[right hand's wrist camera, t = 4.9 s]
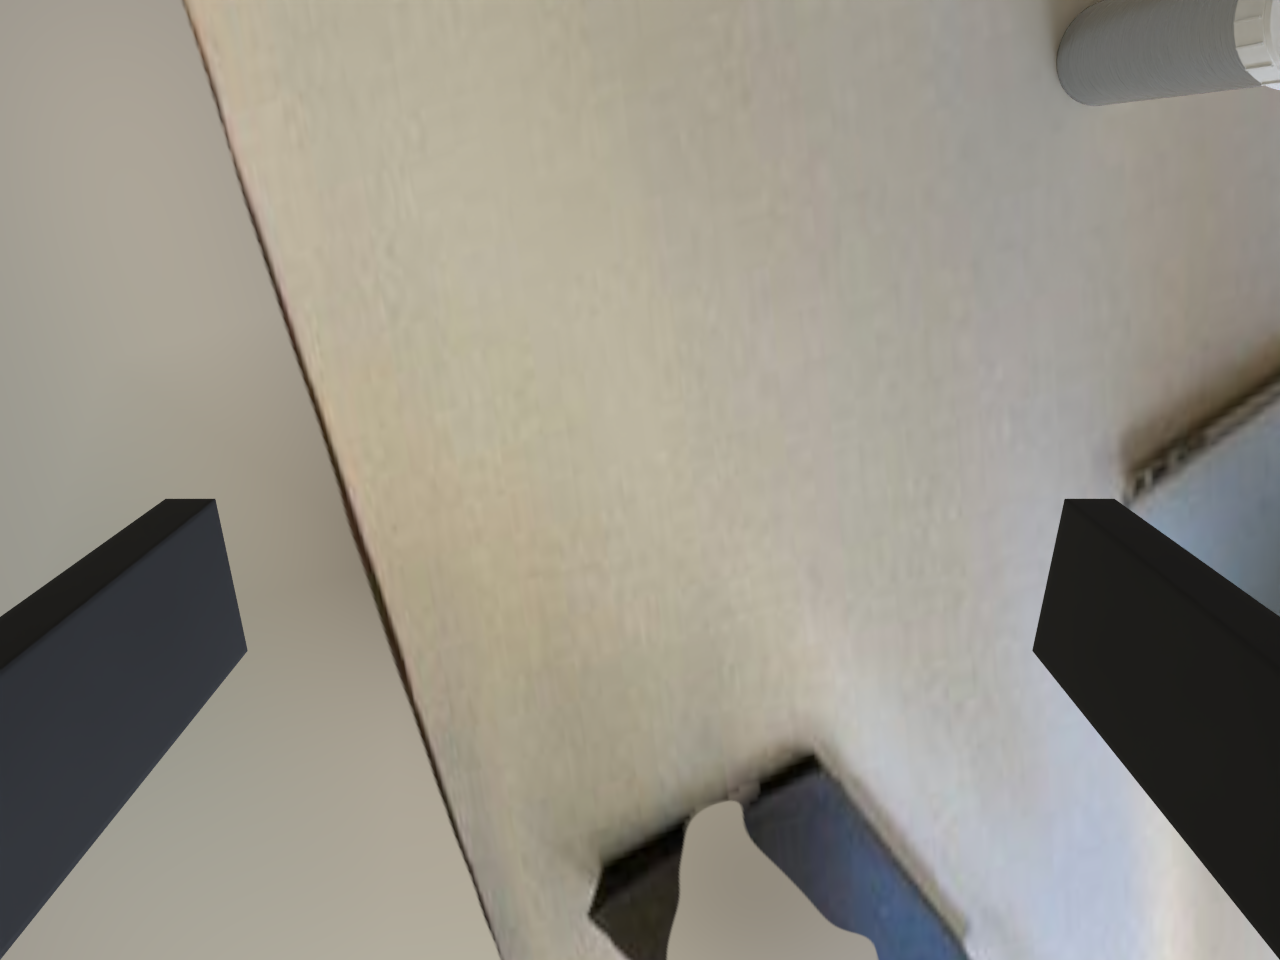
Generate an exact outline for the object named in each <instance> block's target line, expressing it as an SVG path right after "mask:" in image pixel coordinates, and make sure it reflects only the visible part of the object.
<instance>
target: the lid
mask: <svg viewBox="0 0 1280 960" xmlns="http://www.w3.org/2000/svg"><path fill="white" fill-rule="evenodd" d="M1234 38H1235V45H1236V50H1237V52H1238V55H1239V58H1240V60H1241V62H1242V64H1243V65H1244V67H1245V68H1246V69H1245V71H1248V72H1249V73H1250V74H1251V75H1252V76H1253V78H1255V79H1256V80H1257V81H1259V82H1260V83H1262V84H1261V85H1262V86H1268V87H1270V88H1273V89H1277V90H1280V0H1238V3H1237V7H1236V12H1235V20H1234Z"/></svg>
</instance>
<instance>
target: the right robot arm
mask: <svg viewBox="0 0 1280 960" xmlns="http://www.w3.org/2000/svg"><path fill="white" fill-rule="evenodd" d="M246 652H247V646H246V641H245V637H244V632H243V627H242V623H241V618H240V613H239V608H238V604H237V599H236V594H235V590H234V585H233V580H232V576H231V571H230V566H229V562H228V557H227V552H226V547H225V543H224V538H223V533H222V529H221V524H220V519H219V514H218V510H217V505H216V500H215V499H165V500H164V501H162V502H161V503H159V504H158V505H156V506H155V507H154V508H152V509H151V510H149V511H148V512H147V513H145V514H144V515H143V516H141V517H140V518H138V519H137V520H135V521H134V522H133V523H131V524H130V525H128V526H127V527H126V528H124V529H123V530H121V531H120V532H119V533H117V534H116V535H114V536H113V537H112V538H110V539H109V540H107V541H106V542H105V543H103V544H102V545H100V546H99V547H98V548H96V549H95V550H93V551H92V552H91V553H89V554H88V555H86V556H85V557H84V558H82V559H81V560H79V561H78V562H77V563H75V564H74V565H72V566H71V567H70V568H68V569H67V570H65V571H64V572H63V573H61V574H60V575H58V576H57V577H56V578H54V579H53V580H51V581H50V582H49V583H47V584H46V585H44V586H43V587H42V588H40V589H39V590H37V591H36V592H35V593H33V594H32V595H30V596H29V597H28V598H26V599H25V600H23V601H22V602H21V603H19V604H18V605H16V606H15V607H14V608H12V609H11V610H9V611H8V612H7V613H5V614H4V615H2V616H1V617H0V959H1V958H2V957H3V956H4V954H5V953H6V952H7V951H8V949H9V948H10V947H11V946H12V944H13V943H14V942H15V940H16V939H17V938H18V937H19V936H20V934H21V933H22V932H23V931H24V929H25V928H26V927H27V926H28V924H29V923H30V922H31V921H32V919H33V918H34V917H35V916H36V914H37V913H38V912H39V911H40V909H41V908H42V907H43V906H44V904H45V903H46V902H47V901H48V899H49V898H50V897H51V896H52V894H53V893H54V892H55V891H56V889H57V888H58V887H59V886H60V884H61V883H62V882H63V881H64V879H65V878H66V877H67V876H68V874H69V873H70V872H71V871H72V869H73V868H74V867H75V866H76V864H77V863H78V862H79V860H80V859H81V858H82V857H83V856H84V854H85V853H86V852H87V851H88V849H89V848H90V847H91V846H92V844H93V843H94V842H95V841H96V839H97V838H98V837H99V836H100V834H101V833H102V832H103V831H104V829H105V828H106V827H107V826H108V824H109V823H110V822H111V821H112V819H113V818H114V817H115V816H116V814H117V813H118V812H119V811H120V809H121V808H122V807H123V806H124V804H125V803H126V802H127V801H128V799H129V798H130V797H131V796H132V794H133V793H134V792H135V791H136V789H137V788H138V787H139V786H140V784H141V783H142V782H143V781H144V779H145V778H146V777H147V776H148V774H149V773H150V772H151V771H152V769H153V768H154V767H155V766H156V764H157V763H158V762H159V761H160V759H161V758H162V757H163V756H164V754H165V753H166V752H167V751H168V749H169V748H170V747H171V746H172V744H173V743H174V742H175V741H176V739H177V738H178V737H179V736H180V734H181V733H182V732H183V731H184V729H185V728H186V727H187V726H188V724H189V723H190V722H191V721H192V719H193V718H194V717H195V716H196V714H197V713H198V712H199V711H200V709H201V708H202V707H203V706H204V704H205V703H206V702H207V701H208V699H209V698H210V697H211V696H212V694H213V693H214V692H215V691H216V689H217V688H218V687H219V686H220V684H221V683H222V682H223V681H224V679H225V678H226V677H227V676H228V674H229V673H230V672H231V671H232V669H233V668H234V667H235V666H236V664H237V663H238V662H239V661H240V659H241V658H242V657H243V656H244V654H245V653H246ZM1033 652H1034V653H1035V654H1036V656H1037V657H1038V658H1039V659H1040V661H1041V662H1042V663H1043V664H1044V666H1045V667H1046V668H1047V669H1048V671H1049V672H1050V673H1051V674H1052V676H1053V677H1054V678H1055V679H1056V681H1057V682H1058V683H1059V684H1060V686H1061V687H1062V688H1063V689H1064V691H1065V692H1066V693H1067V694H1068V696H1069V697H1070V698H1071V699H1072V701H1073V702H1074V703H1075V704H1076V706H1077V707H1078V708H1079V709H1080V711H1081V712H1082V713H1083V714H1084V716H1085V717H1086V718H1087V719H1088V721H1089V722H1090V723H1091V724H1092V726H1093V727H1094V728H1095V729H1096V731H1097V732H1098V733H1099V734H1100V736H1101V737H1102V738H1103V739H1104V741H1105V742H1106V743H1107V744H1108V746H1109V747H1110V748H1111V749H1112V751H1113V752H1114V753H1115V754H1116V756H1117V757H1118V758H1119V759H1120V761H1121V762H1122V763H1123V764H1124V766H1125V767H1126V768H1127V769H1128V771H1129V772H1130V773H1131V774H1132V776H1133V777H1134V778H1135V779H1136V781H1137V782H1138V783H1139V784H1140V786H1141V787H1142V788H1143V789H1144V791H1145V792H1146V793H1147V794H1148V796H1149V797H1150V798H1151V799H1152V801H1153V802H1154V803H1155V804H1156V806H1157V807H1158V808H1159V809H1160V811H1161V812H1162V813H1163V814H1164V816H1165V817H1166V818H1167V819H1168V821H1169V822H1170V823H1171V824H1172V826H1173V827H1174V828H1175V829H1176V831H1177V832H1178V833H1179V834H1180V836H1181V837H1182V838H1183V839H1184V841H1185V842H1186V843H1187V844H1188V846H1189V847H1190V848H1191V849H1192V851H1193V852H1194V853H1195V854H1196V856H1197V857H1198V858H1199V859H1200V861H1201V862H1202V863H1203V864H1204V866H1205V867H1206V868H1207V869H1208V871H1209V872H1210V873H1211V874H1212V876H1213V877H1214V878H1215V879H1216V881H1217V882H1218V883H1219V884H1220V886H1221V887H1222V888H1223V889H1224V891H1225V892H1226V893H1227V894H1228V896H1229V897H1230V898H1231V899H1232V901H1233V902H1234V903H1235V904H1236V906H1237V907H1238V908H1239V909H1240V911H1241V912H1242V913H1243V914H1244V916H1245V917H1246V918H1247V919H1248V921H1249V922H1250V923H1251V924H1252V926H1253V927H1254V928H1255V929H1256V931H1257V932H1258V933H1259V934H1260V936H1261V937H1262V938H1263V939H1264V941H1265V942H1266V943H1267V944H1268V946H1269V947H1270V948H1271V949H1272V951H1273V952H1274V953H1275V954H1276V956H1277V957H1278V958H1279V959H1280V617H1279V616H1278V615H1276V614H1275V613H1273V612H1272V611H1271V610H1269V609H1268V608H1266V607H1265V606H1264V605H1262V604H1261V603H1259V602H1258V601H1257V600H1255V599H1254V598H1252V597H1251V596H1250V595H1248V594H1247V593H1245V592H1244V591H1243V590H1241V589H1240V588H1238V587H1237V586H1236V585H1234V584H1233V583H1231V582H1230V581H1229V580H1227V579H1226V578H1224V577H1223V576H1222V575H1220V574H1219V573H1217V572H1216V571H1215V570H1213V569H1212V568H1210V567H1209V566H1208V565H1206V564H1205V563H1203V562H1202V561H1201V560H1199V559H1198V558H1196V557H1195V556H1194V555H1192V554H1191V553H1189V552H1188V551H1187V550H1185V549H1184V548H1182V547H1181V546H1180V545H1178V544H1177V543H1175V542H1174V541H1173V540H1171V539H1170V538H1168V537H1167V536H1166V535H1164V534H1163V533H1161V532H1160V531H1159V530H1157V529H1156V528H1154V527H1153V526H1152V525H1150V524H1149V523H1147V522H1146V521H1145V520H1143V519H1142V518H1140V517H1139V516H1138V515H1136V514H1135V513H1133V512H1132V511H1131V510H1129V509H1128V508H1126V507H1125V506H1124V505H1122V504H1121V503H1119V502H1118V501H1117V500H1115V499H1065V500H1064V505H1063V510H1062V514H1061V519H1060V524H1059V529H1058V533H1057V538H1056V543H1055V547H1054V552H1053V557H1052V561H1051V566H1050V571H1049V576H1048V580H1047V585H1046V590H1045V594H1044V599H1043V604H1042V608H1041V613H1040V618H1039V623H1038V627H1037V632H1036V637H1035V641H1034V646H1033Z"/></svg>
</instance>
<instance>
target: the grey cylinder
mask: <svg viewBox="0 0 1280 960" xmlns="http://www.w3.org/2000/svg"><path fill="white" fill-rule="evenodd" d="M1237 3H1238V0H1104V1H1101V2H1098V3H1096V4H1094V5H1092V6H1090V7H1089V8H1087V9H1085V10H1084V11H1083V12H1082V13H1080V14H1079V15H1078V16H1077V17H1076V18H1075V19H1074V21H1073V22H1072V23H1071V24H1070V26H1069V27H1068V29H1067V30H1066V32H1065V34H1064V36H1063V38H1062V41H1061V43H1060V46H1059V50H1058V56H1057V72H1058V76H1059V80H1060V82H1061V85H1062V86H1063V88H1064V90H1065V91H1066V92H1067V94H1068V95H1069V96H1070V97H1072V98H1073V99H1074V100H1076V101H1078V102H1080V103H1082V104H1086V105H1092V106H1100V105H1108V104H1117V103H1125V102H1134V101H1142V100H1150V99H1159V98H1167V97H1176V96H1184V95H1192V94H1201V93H1209V92H1218V91H1226V90H1234V89H1243V88H1251V87H1260V86H1262V85H1261V84H1262V83H1260V82H1259V81H1257V80H1256V79H1255V78H1253V76H1252V75H1251V74H1250V73H1249V72H1248V71H1245V69H1246V68H1245V67H1244V65H1243V64H1242V62H1241V60H1240V58H1239V55H1238V52H1237V50H1236V45H1235V38H1234V20H1235V12H1236V7H1237Z"/></svg>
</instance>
